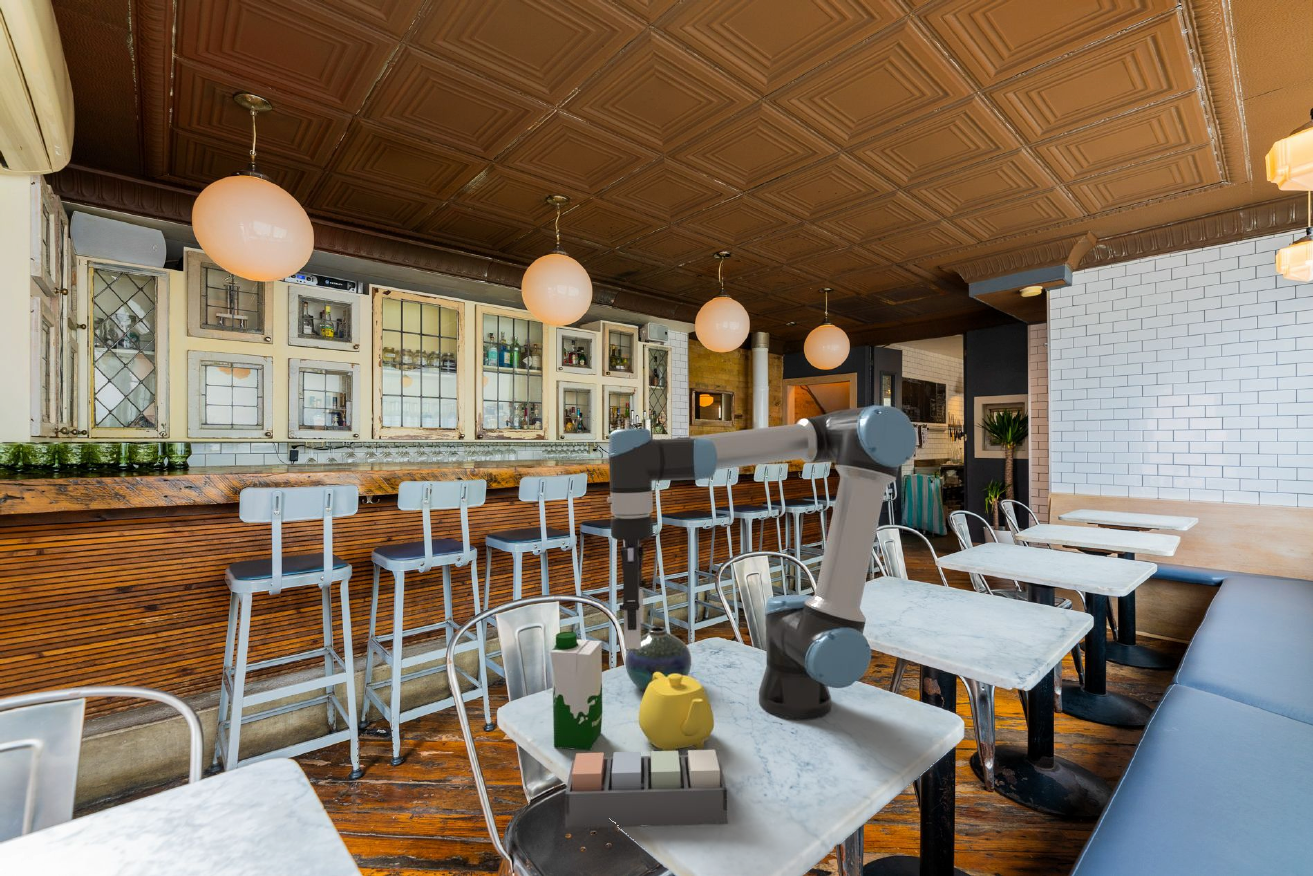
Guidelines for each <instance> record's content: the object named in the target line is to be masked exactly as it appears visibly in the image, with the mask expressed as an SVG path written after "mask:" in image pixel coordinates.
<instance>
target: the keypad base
mask: <svg viewBox="0 0 1313 876" xmlns="http://www.w3.org/2000/svg"><path fill="white" fill-rule="evenodd" d="M678 755H679V764H680V782H681V789H652V786H651V755H641V790H613V791H612V765H613V756H606V757H605V756H604V776H603V784H602V791H576V792H572V772H573V767H574V762H575V758H576V757H573V758H572V762H571V765H570V770H569V774H568V778H567V779H568V780H567V783H566V787H565V793H564V815H565V816H564V818H565V819H564V820H565V822H564V824H565V829H582V828H583V829H584V828H586V829H588V828H592V829H593V828H620V827H621V828H622V827H642V826H641V825H651V826H650V827H654V826H655V827H657V826H660V827H662V826H690V825H691V826H693V825H722V824H723V825H725V824H728V820H729V819H728V788H727V784H726V780H725V776H724V771H723V767H722V763H721V759H720V755H719V753H718V754H717V753H716V756H717V760H718V765H719V769H720V788H691V786H690V779H689V771H688V754H678ZM609 818H610V819H611V820H612V821H614V822H616V824H615V823H614V822H612V821H611V820H610V819H609ZM617 825H619V826H617Z"/></svg>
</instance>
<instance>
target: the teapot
mask: <svg viewBox="0 0 1313 876" xmlns="http://www.w3.org/2000/svg"><path fill="white" fill-rule="evenodd" d="M638 724H639V728H640V729H641V731H642V733H643V734H644V735H645V737H646V739H647V740H648V741H649V742H650V743H651V744H652V745H654V746H655V747H657V748H660V749H662V750H661V751H676V749H682V748H688V747H692V748H695V749H702V748H704V747H705V743H704V741H706V740H707V739H708V738H709V737H710V735H711V734H712V732H713V730H714V726H715V719H714V714H713V710H712V706H711V703H710V699H709V698H708V696H707V693H706V691H705V689H704V687H703V685H702V684H701V683H700V682H698V681H697V680H696V679H695V678H693V677H691V676H689V675H688V676H685V675H680V674H670V675H668V677H665V676H664V675H663V674H662V673H660V672H655V673H654V674H653V681H652V682H650V683H649V685H648V687H647V689H646V690H644V693H643V696H642V698H641V701H640V705H639V710H638Z"/></svg>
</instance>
